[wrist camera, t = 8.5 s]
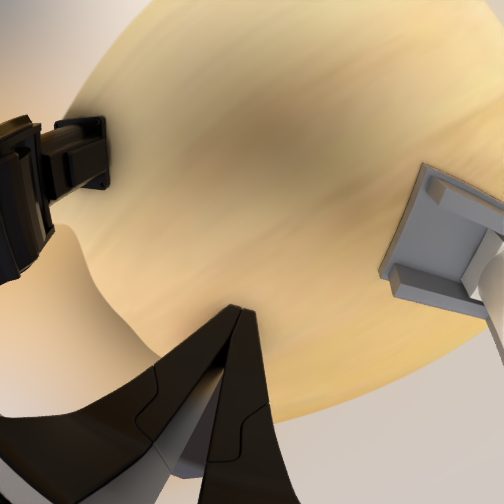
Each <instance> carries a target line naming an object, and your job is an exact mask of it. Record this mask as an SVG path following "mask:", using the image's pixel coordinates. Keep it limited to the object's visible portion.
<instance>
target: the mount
mask: <svg viewBox="0 0 504 504" xmlns="http://www.w3.org/2000/svg"><path fill="white" fill-rule="evenodd" d="M488 228H489V229H491V230H493V231H495V232H497V233H499V234H501V235H503V236H504V203H503V202H501V201H499V200H498V199H496V198H494V197H492V196H490V195H489V194H487V193H485V192H483V191H481V190H479V189H478V188H476V187H474V186H472V185H470V184H468V183H466V182H464V181H462V180H460V179H458V178H456V177H453V176H451V175H449V174H447V173H445V172H443V171H440V170H438V169H436V168H434V167H431V166H429V165H427V164H424V163H422V166H421V169H420V172H419V175H418V178H417V181H416V184H415V186H414V189H413V192H412V194H411V197H410V200H409V202H408V205H407V207H406V210H405V212H404V215H403V217H402V220H401V222H400V224H399V227H398V229H397V231H396V234H395V236H394V238H393V240H392V243H391V245H390V247H389V249H388V251H387V254H386V256H385V258H384V260H383V262H382V264H381V266H380V268H379V270H378V271H379V276H380V279H384V280H388V281H389V282H390V286H391V290H392V294H393V297H396V298H400V299H404V300H408V301H412V302H416V303H420V304H424V305H428V306H432V307H436V308H440V309H444V310H448V311H452V312H456V313H461V314H465V315H469V316H473V317H477V318H481V319H485V320H486V322H487V325H488V327H489V329H490V331H491V334H492V336H493V339H494V341H495V344H496V346H497V349H498V351H499V354H500V357H501V360H502V362H503V365H504V348H503V345H502V343H501V341H500V338H499V336H498V333H497V331H496V329H495V327H494V324H493V322H492V320H491V318H490V316H489V314H488V311H487V309H486V307H485V305H484V303H483V301H480V300H476V299H473V298H470V297H469V295H468V293H467V291H466V289H465V287H464V285H463V283H462V281H461V278H462V276H463V274H464V273H465V271H466V269H467V267H468V266H469V264H470V262H471V260H472V259H473V257H474V255H475V253H476V251H477V249H478V247H479V246H480V244H481V242H482V240H483V238H484V236H485V234H486V232H487V230H488Z"/></svg>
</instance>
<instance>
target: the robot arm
mask: <svg viewBox="0 0 504 504" xmlns="http://www.w3.org/2000/svg"><path fill="white" fill-rule="evenodd" d="M98 121H100V123H99V122H98ZM58 125H59V126H58ZM40 131H41V123H34V124H33V123H32V121H31V120H30V118H29V117H28V115H23V116H19V117H16V118H13V119H11V120H8V121H6V122H3V123H1V124H0V285H2V284H4V283H6V282H9V281H12V280H16V279H19V278H20V277H21V275H20V274H21V273H23V272H24V271H25V270H27V269H28V268H29V267H30V266H31V265H32V264H33V263H34V262H35V261H36V260H37V258H38V257H39V253H40V252H41V251H42V249H43V247H44V246H45V245H46V243H47V242H48V241H49V239H50V238H51V236H52V235H53V234H54V232H55V228H54V225H53V223H52V219H51V214H50V208H49V207H50V206H51V205H53V204H54V203H56V202H57V201H59V200H60V199H62V198H64V197H65V196H67V195H69V194H70V193H72V192H73V191H75V190H77V189H79V188H88V189H97V190H106V189H107V188H108V187H109V184H110V183H109V174H108V164H107V151H106V135H105V119H104V117H103V116H90V117H81V118H73V119H65V120H59V121H56V122H55V124H54V130H52V131H50V132H47V133H44V134H40ZM103 183H104V184H105V185H104V184H103ZM223 371H224V372H223ZM222 373H223V377H222V382H221V387H220V392H219V397H218V402H217V407H216V412H215V417H214V423H213V428H212V433H211V438H210V443H209V448H208V453H207V459H206V464H205V469H204V474H203V479H202V484H201V489H200V494H199V499H198V504H301V503H300V502H299V500H298V498H297V496H296V494H295V492H294V489H293V487H292V484H291V482H290V479H289V476H288V473H287V470H286V467H285V464H284V461H283V458H282V455H281V451H280V448H279V445H278V441H277V438H276V434H275V430H274V425H273V420H272V415H271V408H270V404H269V396H268V390H267V383H266V377H265V370H264V364H263V357H262V351H261V344H260V337H259V331H258V324H257V318H256V312H255V311H253V310H250V309H246V308H243V309H242V308H241V307H239V306H236V305H232V304H229V305H228V306H227V307H225V308H224V309H223V310H222V311H220V312H219V313H218V314H217V315H215V316H214V317H213V318H212V319H210V320H209V321H208V322H207V323H205V324H204V325H203V326H202V327H200V328H199V329H198V330H197V331H195V332H194V333H193V334H192V335H190V336H189V337H188V338H187V339H185V340H184V341H183V342H181V343H180V344H179V345H178V346H176V347H175V348H174V349H173V350H171V351H170V352H169V353H167V354H166V355H165V356H164V357H162V358H161V359H160V360H158V361H157V362H156V363H155V364H154V366H151V367H149V368H148V369H147V370H146V371H144V372H143V373H141V374H140V375H138V376H137V377H136V378H134V379H133V380H131V381H130V382H128V383H127V384H125V385H123V386H122V387H120V388H118V389H117V390H115V391H113V392H112V393H110V394H108V395H106V396H104V397H102V398H101V399H99V400H97V401H95V402H93V403H91V404H90V405H88V406H86V407H84V408H82V409H80V410H77V411H75V412H71V413H68V414H62V415H52V416H41V417H40V416H39V417H20V418H9V417H4V416H2V415H1V414H0V504H154V503H155V501H156V500H157V498H158V496H159V494H160V492H161V491H162V489H163V487H164V485H165V483H166V481H167V480H168V478H169V476H170V474H171V472H172V470H173V469H174V467H175V465H176V463H177V461H178V459H179V457H180V455H181V454H182V452H183V450H184V448H185V446H186V444H187V442H188V440H189V438H190V436H191V435H192V433H193V431H194V429H195V427H196V425H197V423H198V421H199V419H200V417H201V415H202V413H203V411H204V409H205V407H206V405H207V403H208V402H209V400H210V398H211V396H212V394H213V392H214V390H215V388H216V386H217V384H218V382H219V380H220V378H221V376H222Z"/></svg>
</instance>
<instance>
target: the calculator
mask: <svg viewBox="0 0 504 504" xmlns="http://www.w3.org/2000/svg"><path fill="white" fill-rule="evenodd" d="M223 372H224V371H223ZM222 377H223V373H222V376H221V378H220V380H219V382H218V384H217V386H216V388H215V390H214V392H213V394H212V396H211V398H210V400H209V402H208V403H207V405H206V407H205V409H204V411H203V413H202V415H201V417H200V419H199V421H198V423H197V425H196V427H195V429H194V431H193V433H192V435H191V436H190V438H189V440H188V442H187V444H186V446H185V448H184V450H183V452H182V454H181V455H180V457H179V459H178V461H177V463H176V465H175V467H174V469H173V470H172V472H171V475H174V476H177V477H179V478H182V479H189V478H199V477H203V474H204V469H205V464H206V459H207V453H208V448H209V443H210V438H211V433H212V428H213V423H214V417H215V412H216V407H217V402H218V397H219V392H220V387H221V382H222Z"/></svg>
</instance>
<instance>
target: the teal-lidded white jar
mask: <svg viewBox="0 0 504 504" xmlns="http://www.w3.org/2000/svg"><path fill="white" fill-rule="evenodd" d="M461 281H462V283H463V285H464V287H465V289H466V291H467V293H468V295H469V297H470V298H473V299H476V300H480V301H483V303H484V305H485V307H486V309H487V311H488V314H489V316H490V318H491V320H492V322H493V324H494V327H495V329H496V331H497V333H498V336H499V338H500V341H501V343H502V345H503V348H504V236H503V235H501V234H499V233H497V232H495V231H493V230H491V229H489V228H488V230H487V232H486V234H485V236H484V238H483V240H482V242H481V244H480V246H479V247H478V249H477V251H476V253H475V255H474V257H473V259H472V260H471V262H470V264H469V266H468V267H467V269H466V271H465V273H464V274H463V276H462V278H461Z"/></svg>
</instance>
